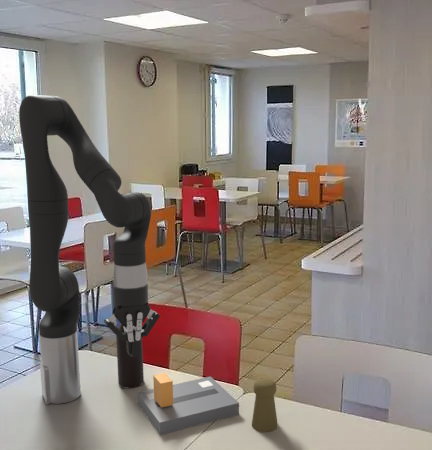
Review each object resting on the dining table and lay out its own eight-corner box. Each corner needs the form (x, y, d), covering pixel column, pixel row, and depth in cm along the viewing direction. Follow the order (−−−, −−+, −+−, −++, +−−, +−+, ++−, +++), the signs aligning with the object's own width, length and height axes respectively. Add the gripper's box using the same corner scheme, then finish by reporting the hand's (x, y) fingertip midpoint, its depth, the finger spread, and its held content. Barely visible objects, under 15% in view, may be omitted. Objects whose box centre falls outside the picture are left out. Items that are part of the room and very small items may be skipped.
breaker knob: (161, 407, 133) (160, 383, 132) (154, 398, 137) (153, 375, 136) (173, 404, 134) (172, 380, 133) (165, 395, 138) (165, 372, 137)
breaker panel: (160, 434, 127) (159, 422, 127) (137, 403, 142) (137, 392, 141) (238, 414, 136) (238, 402, 135) (210, 387, 150) (210, 376, 150)
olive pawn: (276, 433, 127) (276, 387, 126) (249, 430, 129) (249, 385, 127) (279, 419, 133) (279, 375, 131) (253, 417, 134) (253, 373, 133)
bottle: (113, 384, 152) (109, 313, 149) (130, 375, 158) (127, 306, 154) (131, 391, 149) (128, 317, 145) (149, 381, 154) (146, 310, 150)
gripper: (153, 274, 134) (155, 344, 137) (97, 282, 128) (100, 354, 131) (164, 282, 127) (166, 355, 130) (106, 290, 121) (109, 367, 124)
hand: (133, 355), depth 130 cm, fingers closed
